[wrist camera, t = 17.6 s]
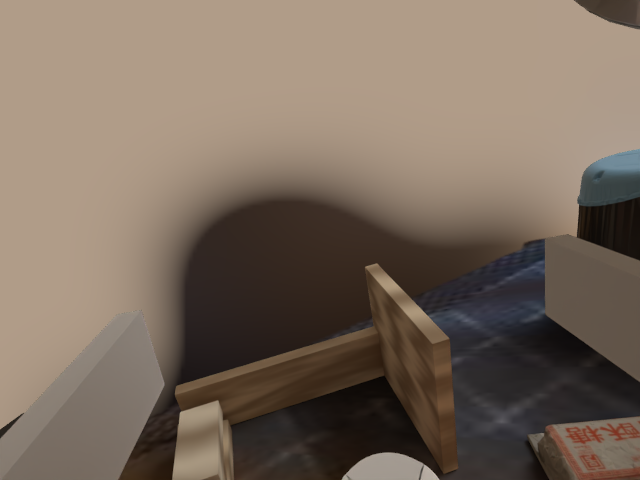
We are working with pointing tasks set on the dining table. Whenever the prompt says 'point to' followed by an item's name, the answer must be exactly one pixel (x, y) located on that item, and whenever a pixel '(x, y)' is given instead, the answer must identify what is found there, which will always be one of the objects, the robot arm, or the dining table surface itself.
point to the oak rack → (352, 371)
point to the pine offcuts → (203, 445)
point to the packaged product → (590, 450)
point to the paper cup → (390, 468)
